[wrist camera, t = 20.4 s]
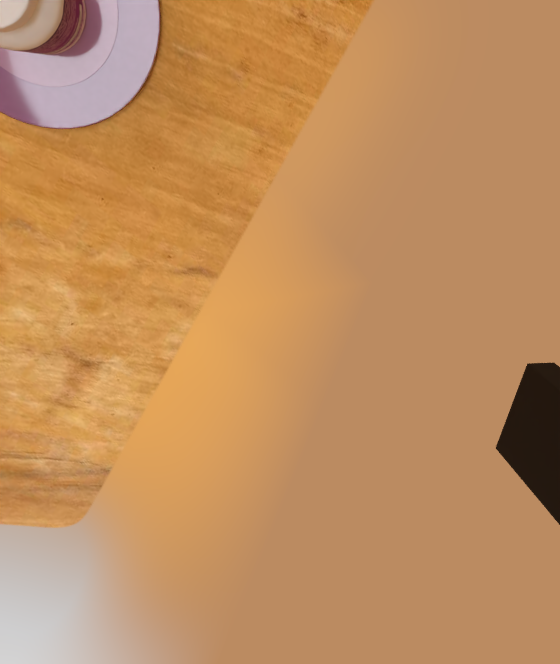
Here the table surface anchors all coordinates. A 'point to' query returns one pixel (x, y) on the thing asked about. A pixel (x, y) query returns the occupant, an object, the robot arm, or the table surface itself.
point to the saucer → (84, 68)
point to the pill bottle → (41, 25)
